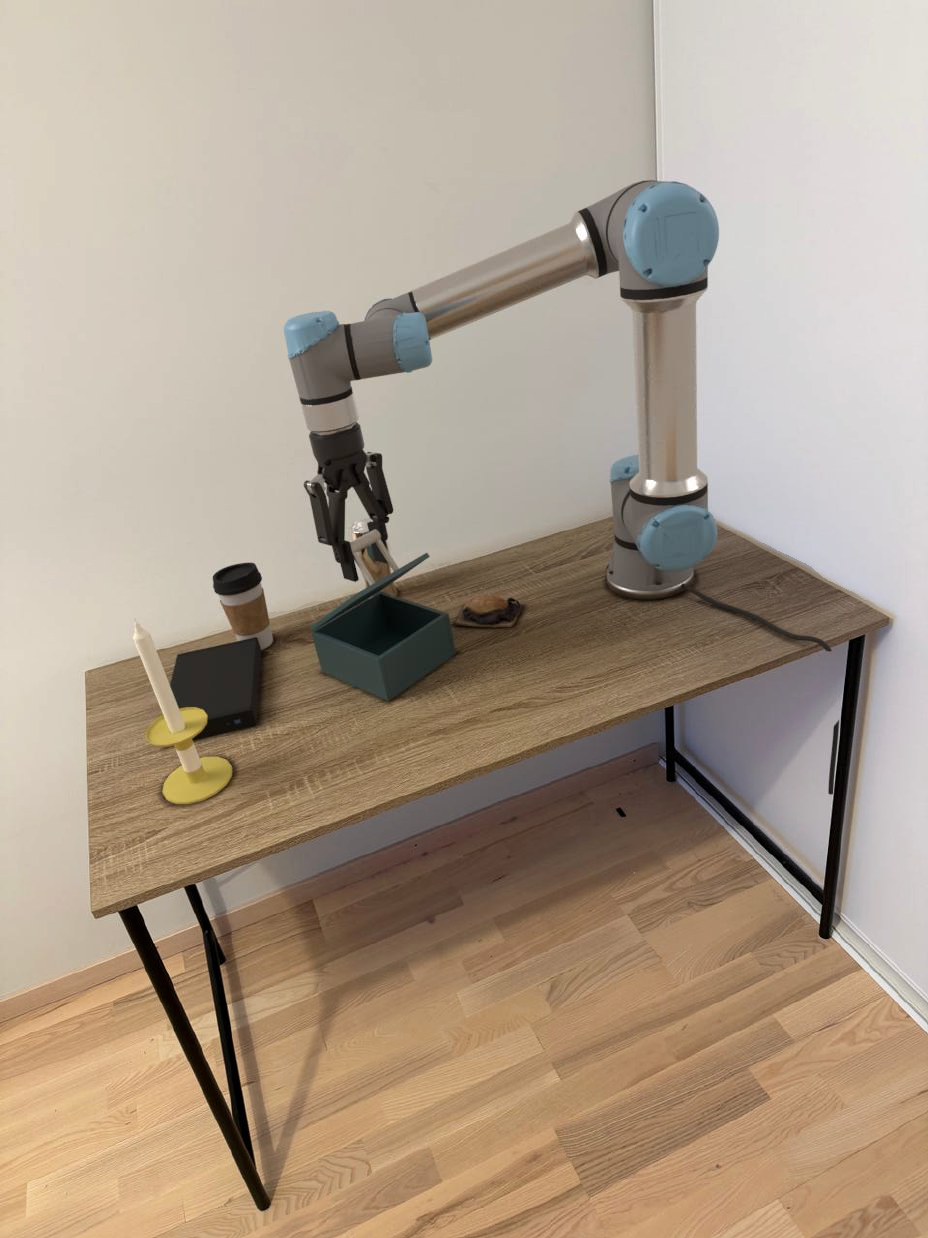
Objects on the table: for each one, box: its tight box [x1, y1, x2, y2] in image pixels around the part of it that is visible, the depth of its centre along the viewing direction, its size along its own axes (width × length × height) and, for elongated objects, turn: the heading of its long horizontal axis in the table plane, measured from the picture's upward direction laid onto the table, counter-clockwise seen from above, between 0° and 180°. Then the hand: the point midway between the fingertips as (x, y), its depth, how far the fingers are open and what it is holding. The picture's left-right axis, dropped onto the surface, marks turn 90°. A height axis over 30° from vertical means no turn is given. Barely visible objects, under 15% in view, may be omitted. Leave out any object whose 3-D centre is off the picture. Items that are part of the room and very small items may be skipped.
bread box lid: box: [309, 529, 431, 632], centre depth 135 cm, size 17×16×8 cm
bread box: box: [310, 591, 457, 702], centre depth 139 cm, size 17×16×8 cm
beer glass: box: [348, 517, 398, 597], centre depth 159 cm, size 7×7×15 cm
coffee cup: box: [212, 562, 274, 651], centre depth 149 cm, size 8×8×15 cm
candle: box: [132, 617, 233, 805], centre depth 114 cm, size 10×10×27 cm
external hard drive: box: [169, 637, 262, 741], centre depth 139 cm, size 14×23×3 cm, turn 11°
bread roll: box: [455, 593, 523, 629], centre depth 148 cm, size 11×8×4 cm
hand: (367, 569), depth 132 cm, fingers closed on bread box lid, 6 cm apart
